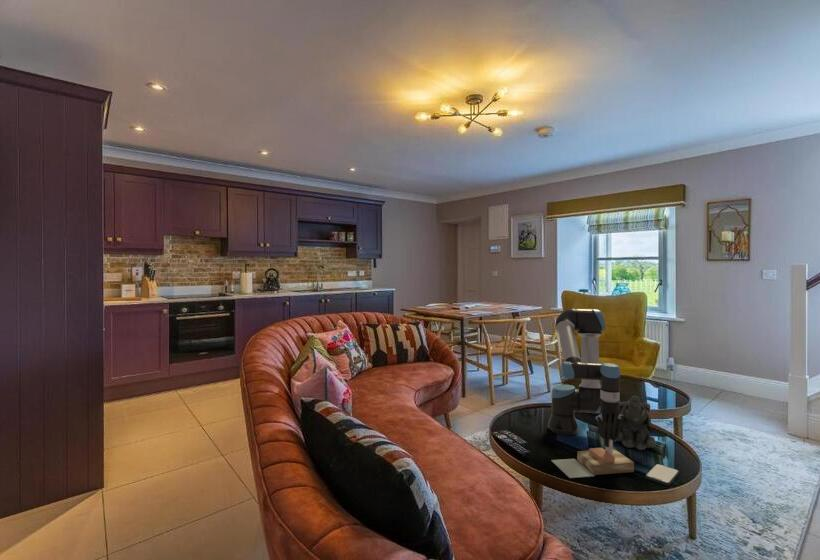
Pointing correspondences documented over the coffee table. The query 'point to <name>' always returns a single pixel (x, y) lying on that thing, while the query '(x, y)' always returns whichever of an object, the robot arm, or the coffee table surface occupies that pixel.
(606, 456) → the salmon orange slab
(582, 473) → the mat
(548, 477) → the coffee table surface
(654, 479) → the phone case
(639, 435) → the stuffed elephant
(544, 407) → the coffee table surface
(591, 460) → the wooden block
